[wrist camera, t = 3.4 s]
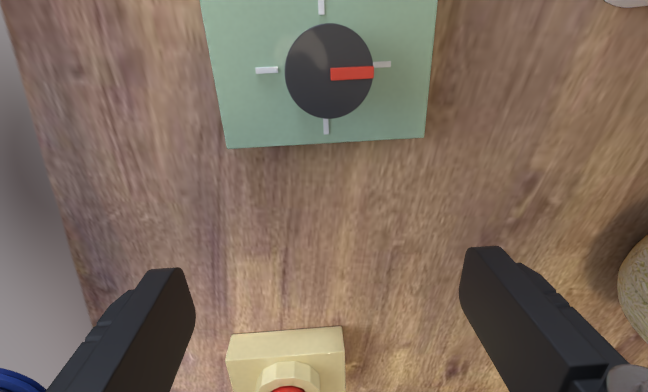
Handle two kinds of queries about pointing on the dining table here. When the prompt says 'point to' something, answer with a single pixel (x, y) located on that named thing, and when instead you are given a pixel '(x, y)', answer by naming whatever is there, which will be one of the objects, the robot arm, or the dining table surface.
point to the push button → (288, 389)
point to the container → (628, 3)
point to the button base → (287, 360)
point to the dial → (329, 70)
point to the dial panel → (270, 56)
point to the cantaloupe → (635, 287)
